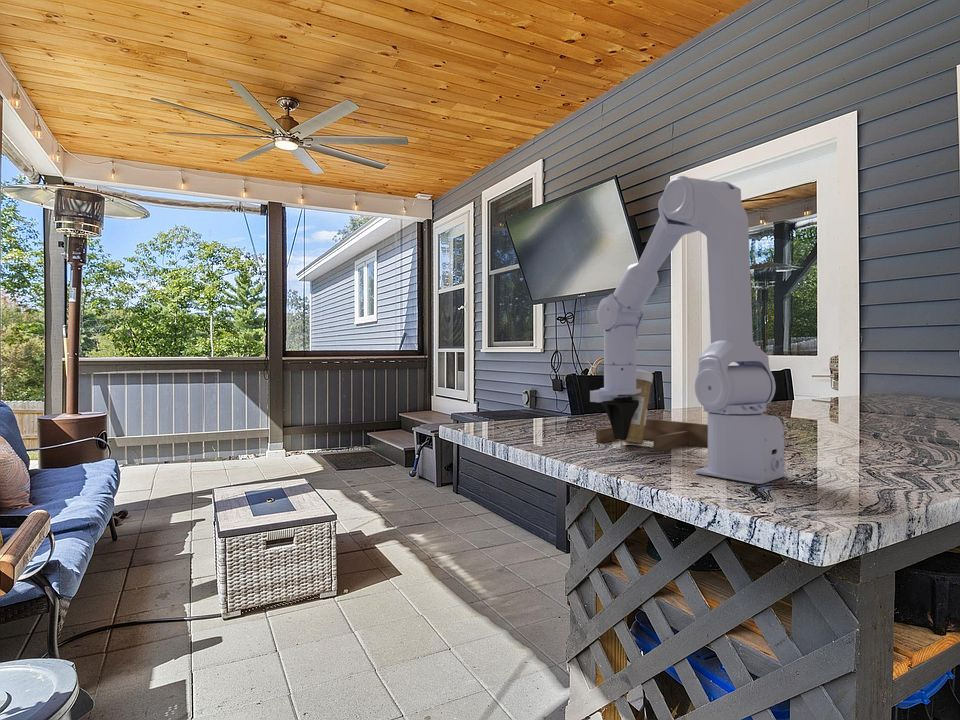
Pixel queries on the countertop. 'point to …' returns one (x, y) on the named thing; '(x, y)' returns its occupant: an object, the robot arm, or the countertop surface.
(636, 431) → the sprinkles bottle
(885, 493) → the countertop surface
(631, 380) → the robot arm
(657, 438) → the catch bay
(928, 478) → the countertop surface
